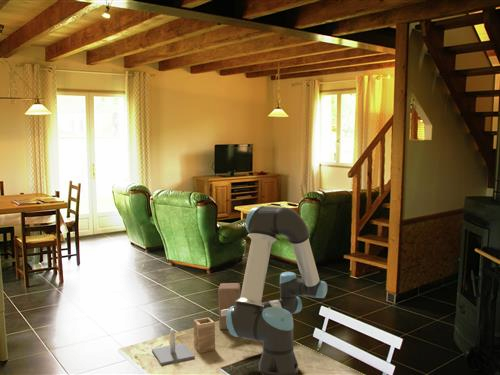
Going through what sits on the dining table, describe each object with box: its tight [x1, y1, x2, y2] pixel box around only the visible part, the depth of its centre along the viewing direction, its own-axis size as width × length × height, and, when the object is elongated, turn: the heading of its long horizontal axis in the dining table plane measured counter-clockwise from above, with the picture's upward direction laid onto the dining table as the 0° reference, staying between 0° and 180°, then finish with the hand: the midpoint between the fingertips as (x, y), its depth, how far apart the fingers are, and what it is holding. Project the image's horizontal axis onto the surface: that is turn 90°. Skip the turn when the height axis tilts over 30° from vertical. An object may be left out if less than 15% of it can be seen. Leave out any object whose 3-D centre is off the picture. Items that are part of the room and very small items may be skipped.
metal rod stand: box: [151, 328, 196, 366], centre depth 201 cm, size 15×14×11 cm
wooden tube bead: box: [193, 317, 216, 354], centre depth 207 cm, size 7×7×12 cm
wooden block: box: [217, 282, 241, 330], centre depth 232 cm, size 10×10×20 cm
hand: (226, 318), depth 211 cm, fingers open, 13 cm apart
